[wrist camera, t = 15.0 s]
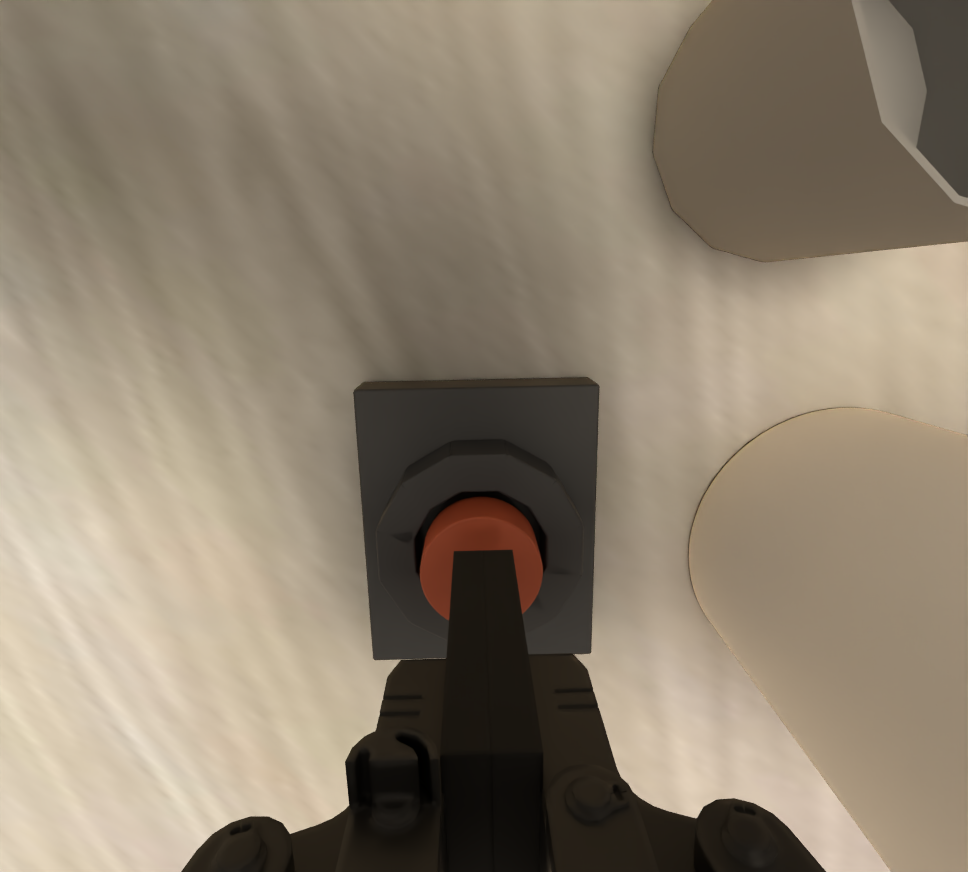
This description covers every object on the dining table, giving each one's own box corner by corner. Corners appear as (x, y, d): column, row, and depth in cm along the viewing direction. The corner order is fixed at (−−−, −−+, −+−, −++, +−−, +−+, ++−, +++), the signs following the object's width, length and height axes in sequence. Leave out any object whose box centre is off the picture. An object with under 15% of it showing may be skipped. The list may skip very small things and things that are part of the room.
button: (421, 497, 18) (416, 518, 16) (536, 494, 18) (543, 515, 16) (426, 600, 19) (422, 631, 17) (536, 597, 19) (542, 627, 17)
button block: (362, 381, 20) (340, 400, 17) (589, 376, 20) (613, 393, 17) (380, 634, 23) (363, 694, 19) (582, 628, 23) (602, 687, 19)
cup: (667, 281, 20) (860, 271, 10) (635, 8, 18) (838, -342, 8) (916, 231, 19) (1364, 169, 10) (912, -52, 17) (1472, -491, 8)
